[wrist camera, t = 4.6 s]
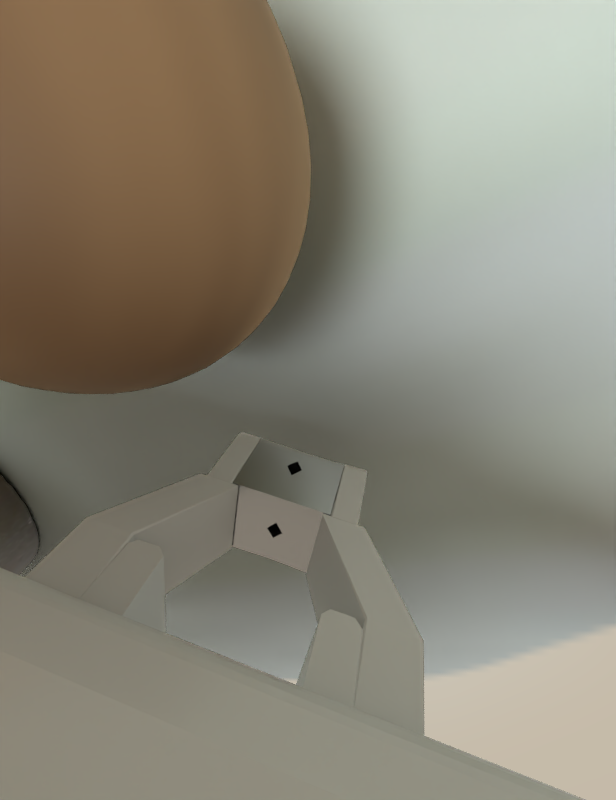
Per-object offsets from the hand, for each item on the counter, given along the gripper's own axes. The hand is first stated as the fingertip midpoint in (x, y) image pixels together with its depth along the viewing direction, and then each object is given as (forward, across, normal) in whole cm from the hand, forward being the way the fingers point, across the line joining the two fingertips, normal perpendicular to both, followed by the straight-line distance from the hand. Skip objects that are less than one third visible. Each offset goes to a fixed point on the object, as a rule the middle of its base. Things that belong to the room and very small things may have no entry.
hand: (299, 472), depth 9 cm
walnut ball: (-2, +4, -5) cm, 7 cm away
